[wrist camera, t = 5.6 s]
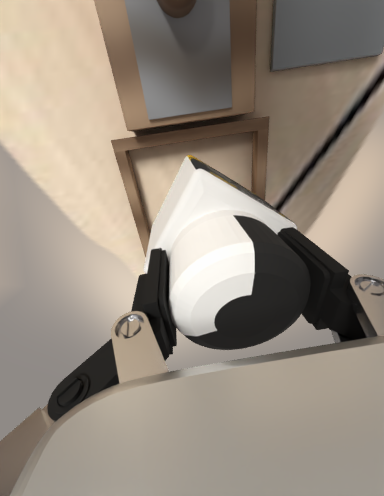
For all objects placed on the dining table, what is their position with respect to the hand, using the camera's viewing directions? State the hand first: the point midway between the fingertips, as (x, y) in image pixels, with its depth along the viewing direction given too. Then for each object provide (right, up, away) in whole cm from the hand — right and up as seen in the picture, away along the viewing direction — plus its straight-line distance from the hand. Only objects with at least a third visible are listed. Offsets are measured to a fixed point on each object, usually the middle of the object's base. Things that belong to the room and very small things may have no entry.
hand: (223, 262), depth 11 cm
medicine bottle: (-1, +4, +7) cm, 8 cm away
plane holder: (-2, +11, +10) cm, 15 cm away
